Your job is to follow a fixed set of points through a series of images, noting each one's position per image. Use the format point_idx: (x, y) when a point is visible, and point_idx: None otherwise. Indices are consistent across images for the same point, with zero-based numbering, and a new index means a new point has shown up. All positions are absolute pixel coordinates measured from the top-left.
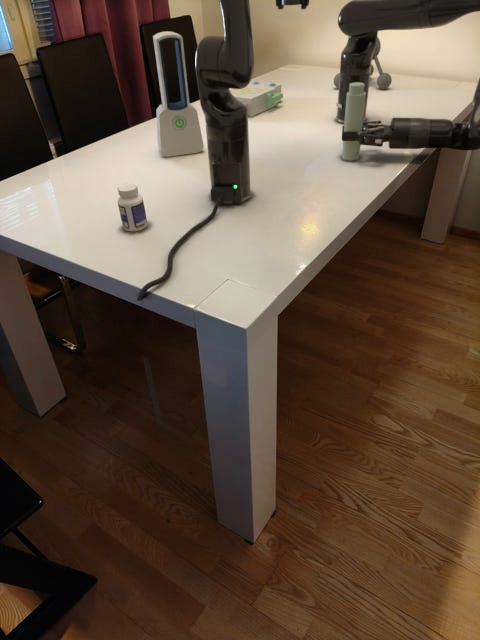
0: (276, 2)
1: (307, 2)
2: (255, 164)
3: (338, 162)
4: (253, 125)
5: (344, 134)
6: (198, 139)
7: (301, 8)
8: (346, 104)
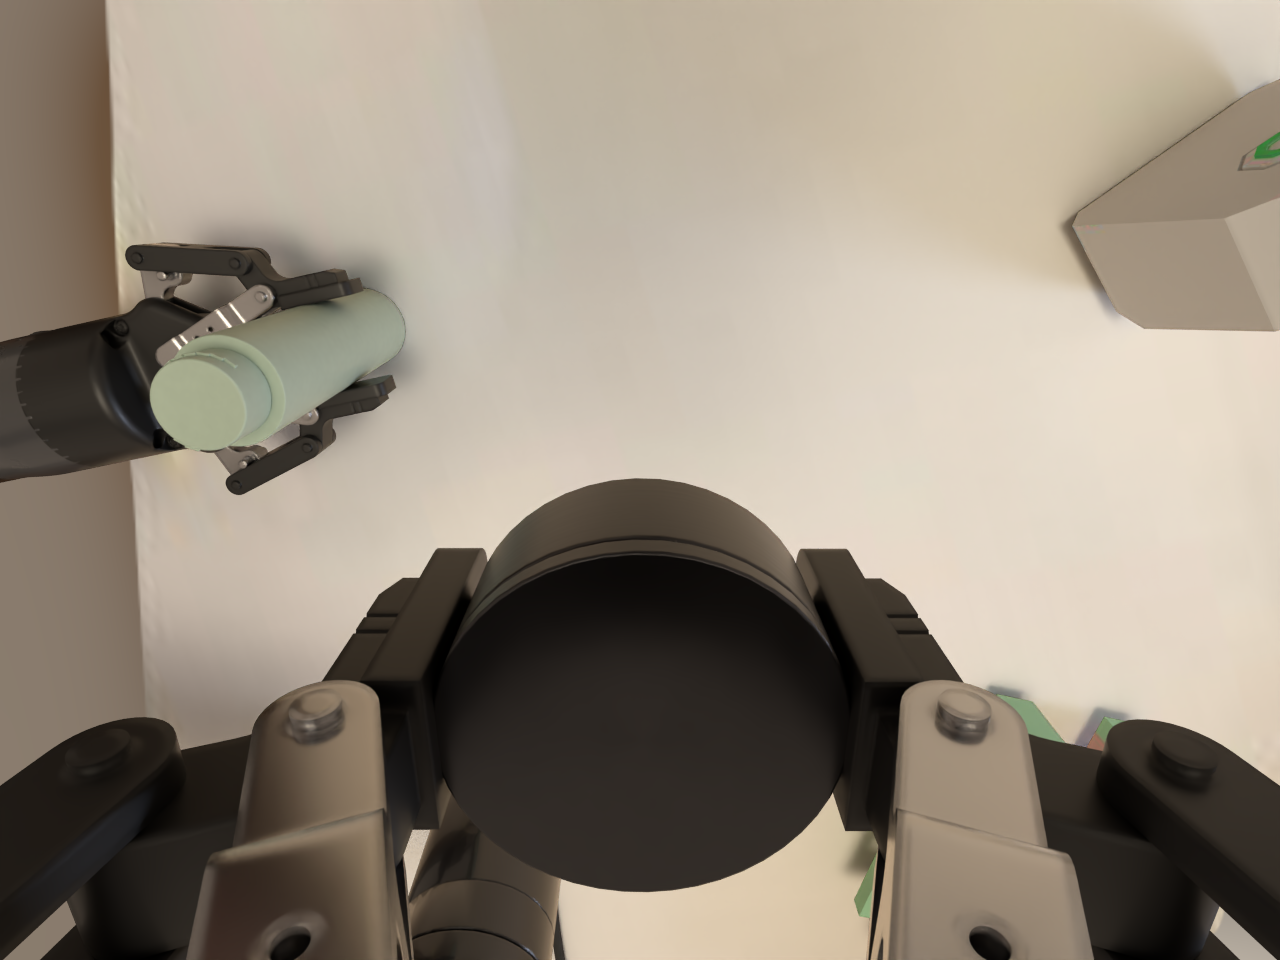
0: (901, 609)
1: (375, 604)
2: (758, 124)
3: (397, 254)
4: None
5: (334, 272)
6: (1120, 210)
7: (480, 550)
8: (298, 351)
